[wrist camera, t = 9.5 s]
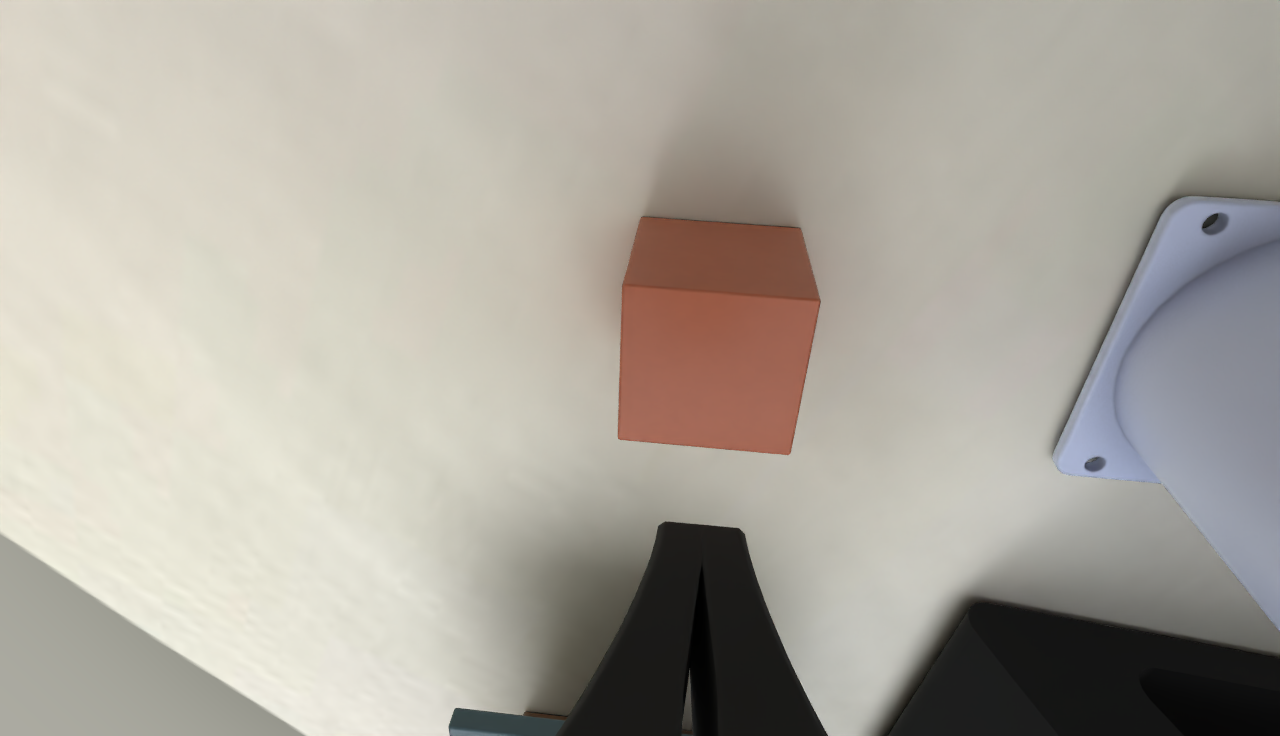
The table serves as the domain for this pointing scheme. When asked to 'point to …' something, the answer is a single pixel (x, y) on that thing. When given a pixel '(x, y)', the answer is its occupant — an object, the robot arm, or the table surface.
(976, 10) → the table surface
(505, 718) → the blue-grey slab
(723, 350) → the block
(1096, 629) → the device stand
